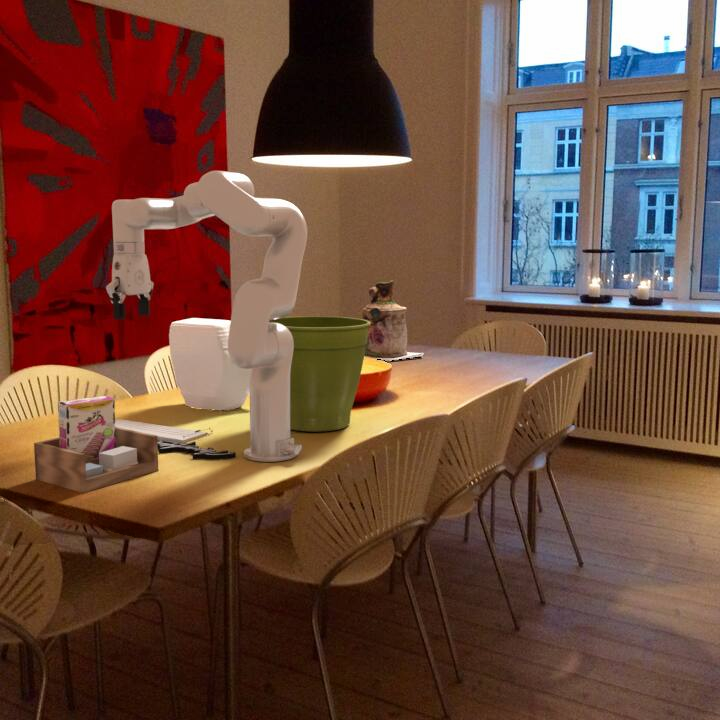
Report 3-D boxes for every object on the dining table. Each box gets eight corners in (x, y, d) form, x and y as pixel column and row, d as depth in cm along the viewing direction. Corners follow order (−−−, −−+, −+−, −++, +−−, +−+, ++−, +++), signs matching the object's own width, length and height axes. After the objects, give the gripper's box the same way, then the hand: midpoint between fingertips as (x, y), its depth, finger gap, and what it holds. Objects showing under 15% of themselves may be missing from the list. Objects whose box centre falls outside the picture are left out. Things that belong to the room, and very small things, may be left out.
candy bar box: (69, 480, 184) (66, 404, 181) (59, 475, 188) (56, 401, 185) (118, 470, 191) (115, 398, 189) (107, 465, 195) (104, 394, 193)
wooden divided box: (158, 470, 191) (157, 435, 190) (82, 493, 175) (81, 454, 174) (111, 459, 200) (110, 425, 199) (35, 479, 184) (33, 443, 183)
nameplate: (245, 448, 206) (220, 458, 197) (245, 454, 206) (221, 465, 198) (155, 435, 218) (128, 444, 209) (155, 441, 219) (128, 450, 210)
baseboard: (127, 422, 241) (94, 431, 230) (126, 412, 240) (94, 420, 230) (214, 435, 226) (183, 446, 215) (214, 424, 225) (183, 434, 215)
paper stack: (202, 396, 274) (201, 316, 270) (271, 406, 260) (270, 321, 256) (155, 408, 256) (152, 322, 252) (225, 419, 242) (224, 328, 238)
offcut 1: (103, 484, 181) (102, 466, 181) (86, 489, 178) (85, 470, 177) (90, 480, 184) (89, 462, 183) (73, 485, 180) (72, 467, 180)
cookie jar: (389, 351, 375) (390, 277, 370) (425, 358, 355) (427, 281, 350) (343, 356, 361) (343, 279, 356) (377, 363, 341) (378, 283, 336)
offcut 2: (137, 461, 189) (136, 448, 188) (113, 469, 183) (113, 455, 182) (123, 459, 191) (122, 446, 190) (99, 466, 185) (98, 453, 184)
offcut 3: (138, 475, 189) (138, 462, 188) (109, 484, 182) (108, 470, 182) (125, 472, 191) (124, 459, 191) (95, 480, 185) (95, 467, 184)
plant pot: (322, 444, 215) (322, 330, 211) (238, 427, 233) (236, 321, 228) (391, 423, 238) (392, 320, 234) (309, 409, 256) (309, 313, 252)
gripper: (118, 250, 207) (121, 321, 209) (162, 248, 223) (164, 314, 225) (93, 250, 210) (97, 320, 212) (138, 248, 225) (141, 313, 228)
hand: (132, 317), depth 219 cm, fingers open, 9 cm apart
